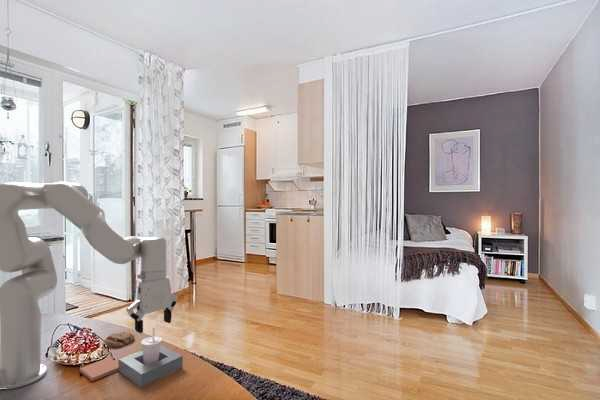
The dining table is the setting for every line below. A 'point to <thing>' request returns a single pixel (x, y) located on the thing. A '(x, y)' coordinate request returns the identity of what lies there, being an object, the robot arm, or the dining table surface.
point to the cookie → (119, 339)
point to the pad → (100, 369)
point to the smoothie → (151, 349)
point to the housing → (149, 366)
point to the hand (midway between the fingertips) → (153, 326)
